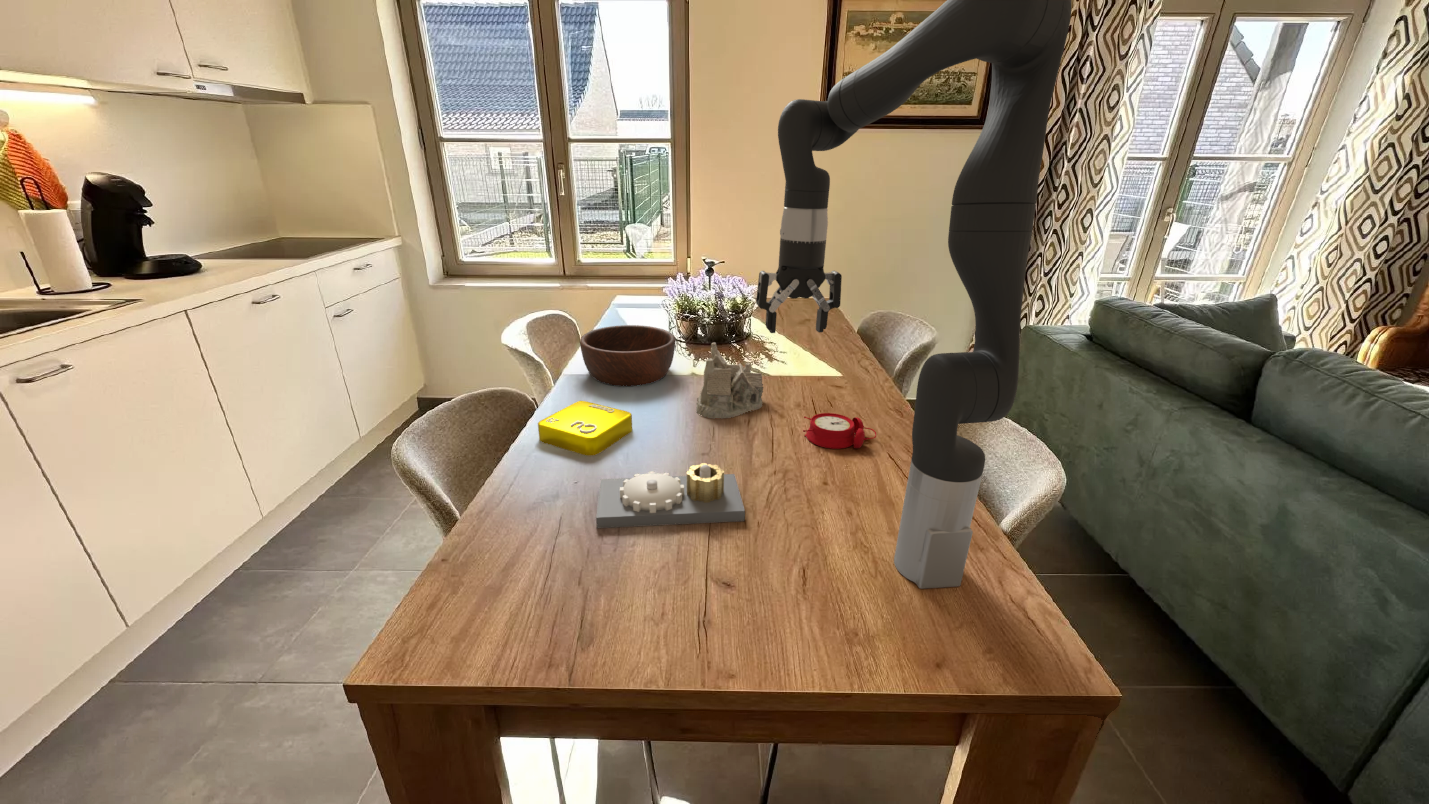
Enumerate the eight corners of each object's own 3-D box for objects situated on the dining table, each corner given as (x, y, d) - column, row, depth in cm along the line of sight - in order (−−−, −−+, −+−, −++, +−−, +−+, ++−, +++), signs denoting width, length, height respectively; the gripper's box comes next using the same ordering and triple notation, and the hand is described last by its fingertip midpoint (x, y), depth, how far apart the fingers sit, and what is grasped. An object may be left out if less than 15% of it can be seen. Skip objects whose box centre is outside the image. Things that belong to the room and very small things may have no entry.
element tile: (636, 430, 129) (635, 410, 127) (593, 459, 117) (591, 437, 115) (581, 416, 135) (580, 397, 134) (535, 442, 123) (532, 421, 121)
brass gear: (725, 501, 99) (726, 481, 98) (688, 503, 99) (688, 482, 97) (720, 482, 105) (721, 462, 104) (685, 483, 104) (685, 463, 103)
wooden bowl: (631, 353, 177) (630, 319, 173) (694, 373, 162) (694, 337, 158) (562, 374, 159) (559, 337, 155) (626, 399, 144) (625, 359, 140)
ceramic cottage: (689, 415, 136) (694, 352, 130) (704, 391, 151) (709, 335, 145) (756, 426, 133) (764, 363, 128) (765, 401, 149) (772, 344, 143)
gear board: (744, 521, 98) (746, 482, 95) (596, 528, 95) (594, 488, 92) (733, 483, 109) (735, 447, 106) (601, 488, 106) (599, 452, 103)
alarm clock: (802, 411, 131) (871, 402, 128) (806, 436, 134) (874, 428, 130) (801, 431, 122) (876, 422, 119) (805, 458, 124) (879, 450, 121)
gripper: (765, 239, 93) (760, 338, 99) (852, 239, 95) (842, 337, 101) (756, 233, 100) (751, 326, 106) (837, 233, 102) (828, 325, 108)
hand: (795, 331), depth 104 cm, fingers open, 8 cm apart
